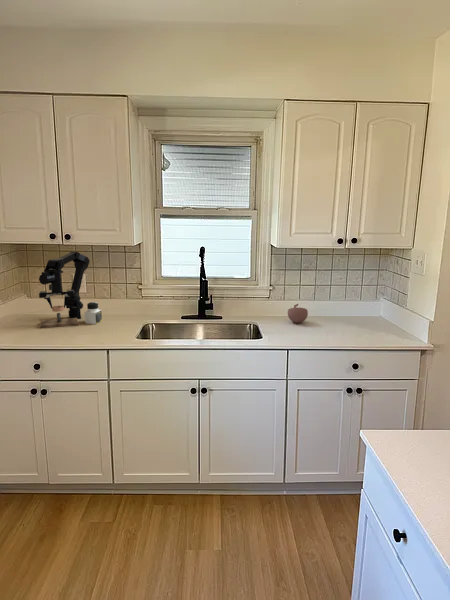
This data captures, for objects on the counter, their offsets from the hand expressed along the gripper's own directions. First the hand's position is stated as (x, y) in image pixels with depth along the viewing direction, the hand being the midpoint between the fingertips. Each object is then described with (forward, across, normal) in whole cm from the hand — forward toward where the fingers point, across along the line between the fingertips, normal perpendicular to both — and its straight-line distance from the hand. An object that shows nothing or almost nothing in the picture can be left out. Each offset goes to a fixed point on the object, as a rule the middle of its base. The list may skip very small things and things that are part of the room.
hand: (58, 308), depth 237 cm
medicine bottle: (+10, -19, +2) cm, 21 cm away
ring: (+1, 0, 0) cm, 1 cm away
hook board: (+10, 0, 0) cm, 10 cm away
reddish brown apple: (+10, -135, +40) cm, 141 cm away
